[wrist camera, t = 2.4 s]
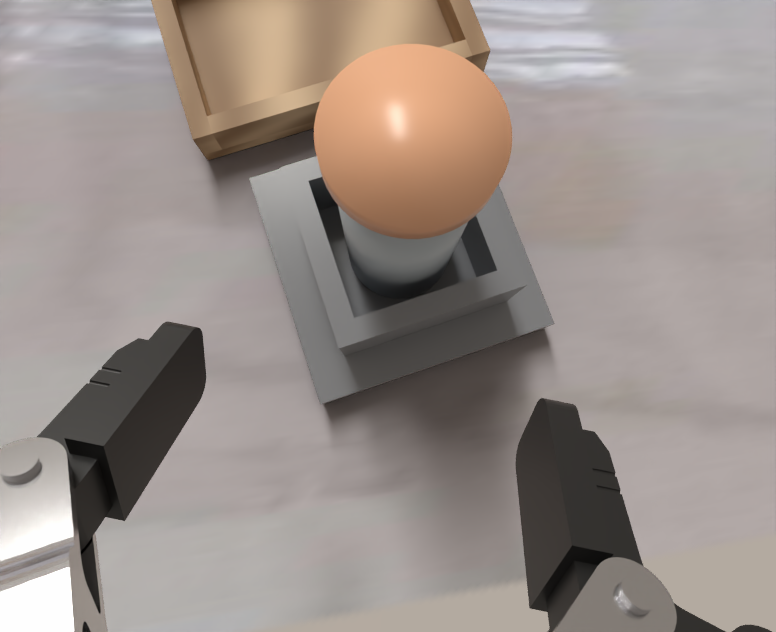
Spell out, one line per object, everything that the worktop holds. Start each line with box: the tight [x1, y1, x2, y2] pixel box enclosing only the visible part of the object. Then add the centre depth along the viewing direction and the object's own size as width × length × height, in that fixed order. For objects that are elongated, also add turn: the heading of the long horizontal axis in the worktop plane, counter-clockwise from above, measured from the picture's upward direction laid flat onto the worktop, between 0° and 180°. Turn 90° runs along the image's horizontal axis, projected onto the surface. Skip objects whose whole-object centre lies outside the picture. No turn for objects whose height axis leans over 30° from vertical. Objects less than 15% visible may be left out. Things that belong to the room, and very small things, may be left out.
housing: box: [249, 156, 554, 404], centre depth 24 cm, size 12×12×5 cm
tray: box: [151, 0, 490, 160], centre depth 27 cm, size 16×11×2 cm
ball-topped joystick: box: [314, 44, 512, 298], centre depth 19 cm, size 6×6×11 cm
